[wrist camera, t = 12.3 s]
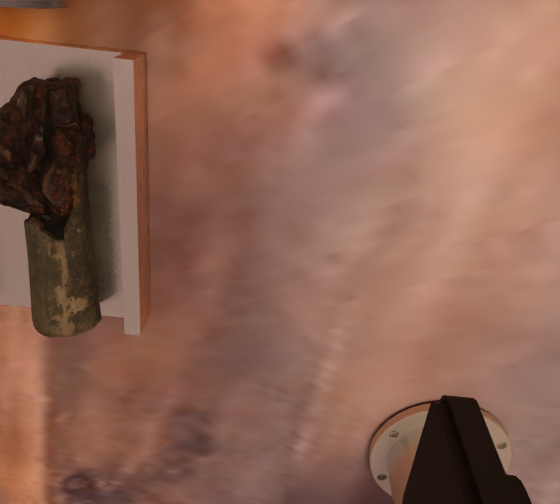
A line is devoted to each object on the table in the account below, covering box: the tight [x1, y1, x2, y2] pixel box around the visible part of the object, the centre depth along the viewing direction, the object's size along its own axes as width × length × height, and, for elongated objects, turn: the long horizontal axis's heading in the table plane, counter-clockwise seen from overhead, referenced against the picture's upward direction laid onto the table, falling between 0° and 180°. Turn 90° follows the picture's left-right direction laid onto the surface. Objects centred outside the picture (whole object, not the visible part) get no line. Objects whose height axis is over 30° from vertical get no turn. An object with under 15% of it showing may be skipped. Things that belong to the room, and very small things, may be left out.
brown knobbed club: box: [0, 77, 101, 337], centre depth 35 cm, size 18×7×6 cm, turn 173°
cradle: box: [0, 36, 150, 335], centre depth 37 cm, size 20×13×3 cm
